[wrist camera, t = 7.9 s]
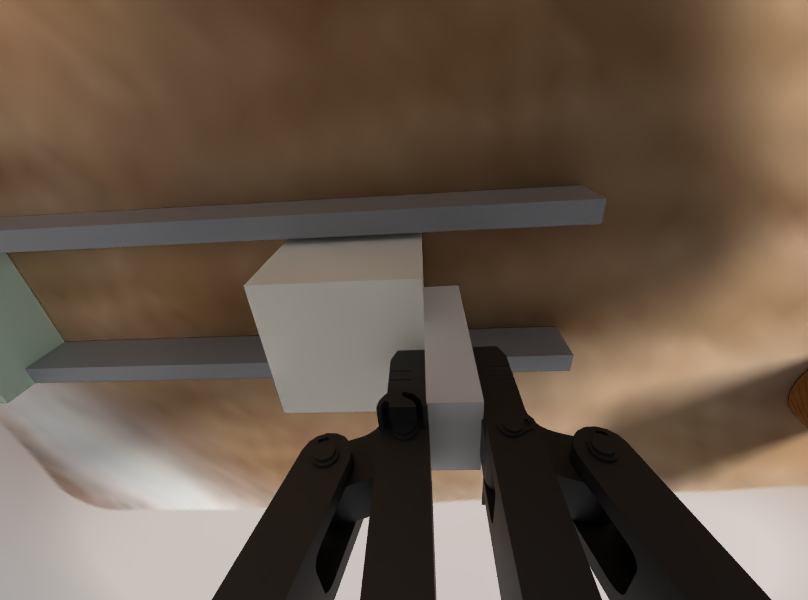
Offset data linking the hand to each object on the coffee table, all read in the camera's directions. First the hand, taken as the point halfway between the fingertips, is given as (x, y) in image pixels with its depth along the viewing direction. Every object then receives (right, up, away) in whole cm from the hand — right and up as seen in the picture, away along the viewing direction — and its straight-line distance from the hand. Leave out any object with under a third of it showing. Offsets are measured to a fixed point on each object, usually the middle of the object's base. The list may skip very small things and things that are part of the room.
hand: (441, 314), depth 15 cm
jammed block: (-4, +2, +3) cm, 5 cm away
